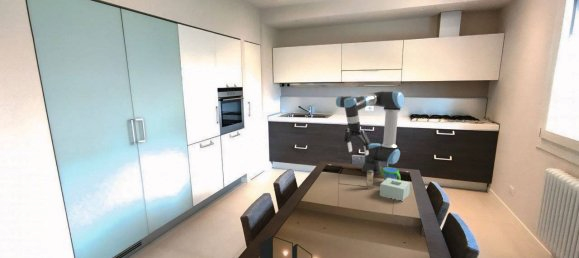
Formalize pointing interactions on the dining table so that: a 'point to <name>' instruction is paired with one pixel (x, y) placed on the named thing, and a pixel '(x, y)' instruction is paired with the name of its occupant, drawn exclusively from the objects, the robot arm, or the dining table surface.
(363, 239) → the dining table surface
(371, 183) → the wooden peg
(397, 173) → the snack cup
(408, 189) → the block
